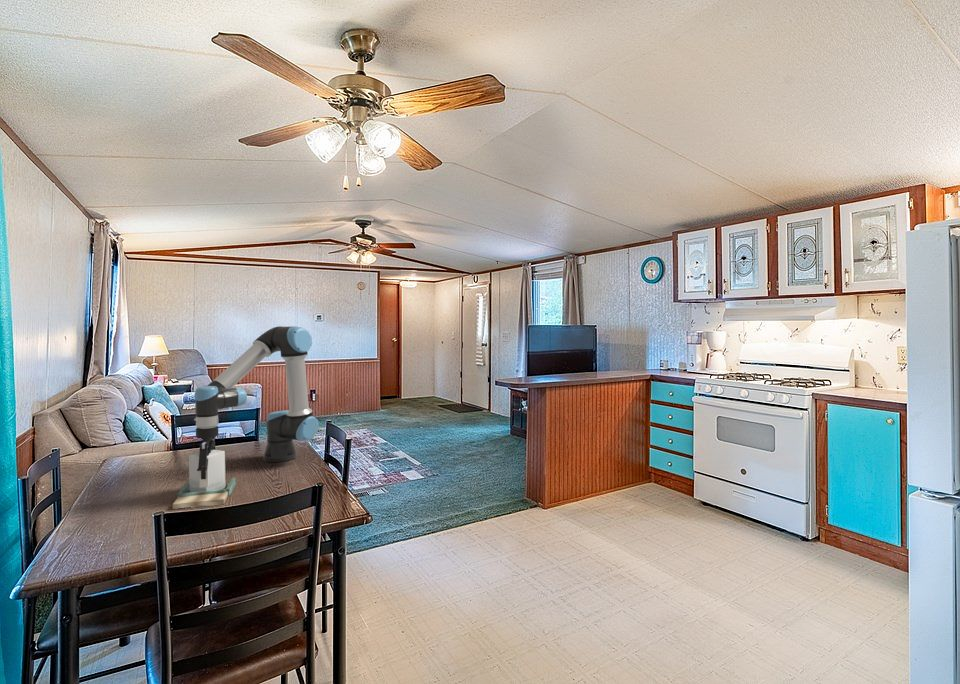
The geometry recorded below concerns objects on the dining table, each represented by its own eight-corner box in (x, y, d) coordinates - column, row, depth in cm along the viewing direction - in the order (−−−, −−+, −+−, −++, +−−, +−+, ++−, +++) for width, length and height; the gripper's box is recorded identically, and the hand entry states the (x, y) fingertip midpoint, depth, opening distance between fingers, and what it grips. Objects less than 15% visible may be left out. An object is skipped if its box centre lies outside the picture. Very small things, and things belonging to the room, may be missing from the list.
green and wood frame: (235, 484, 191) (235, 477, 191) (225, 504, 170) (225, 496, 170) (187, 489, 185) (187, 481, 185) (170, 509, 164) (170, 501, 164)
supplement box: (226, 488, 184) (225, 450, 184) (206, 495, 176) (205, 456, 175) (209, 485, 187) (208, 448, 187) (188, 492, 179) (187, 454, 178)
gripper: (203, 420, 191) (204, 473, 192) (187, 434, 168) (188, 493, 169) (224, 419, 193) (224, 471, 194) (211, 432, 170) (212, 491, 171)
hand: (207, 481), depth 181 cm, fingers closed on supplement box, 12 cm apart
